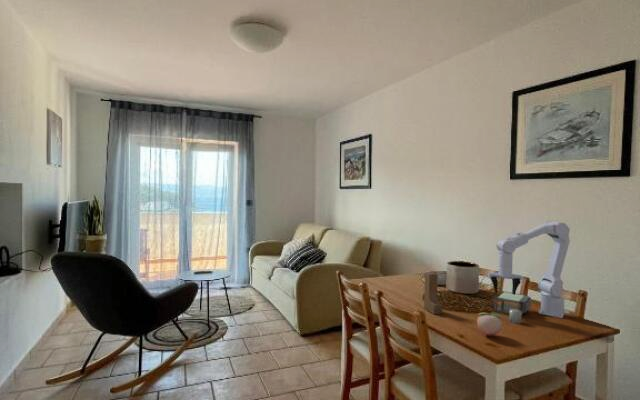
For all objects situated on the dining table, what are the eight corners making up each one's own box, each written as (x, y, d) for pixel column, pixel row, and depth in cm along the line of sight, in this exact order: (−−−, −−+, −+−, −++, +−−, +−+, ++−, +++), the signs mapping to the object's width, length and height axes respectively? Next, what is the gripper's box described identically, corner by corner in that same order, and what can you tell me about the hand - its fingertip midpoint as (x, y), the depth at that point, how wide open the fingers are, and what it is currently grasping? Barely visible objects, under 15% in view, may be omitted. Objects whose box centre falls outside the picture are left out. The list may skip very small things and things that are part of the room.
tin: (450, 284, 220) (451, 271, 220) (452, 286, 217) (452, 272, 217) (426, 283, 222) (426, 270, 221) (427, 285, 218) (427, 271, 218)
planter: (458, 295, 196) (459, 267, 196) (440, 287, 213) (440, 261, 213) (485, 293, 201) (486, 266, 201) (465, 285, 218) (465, 260, 218)
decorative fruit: (480, 339, 138) (480, 314, 138) (474, 331, 146) (475, 307, 146) (505, 341, 137) (506, 315, 136) (499, 333, 145) (499, 309, 144)
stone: (522, 321, 158) (522, 310, 158) (520, 324, 154) (520, 313, 154) (510, 318, 161) (510, 308, 161) (507, 321, 158) (508, 310, 157)
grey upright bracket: (442, 314, 166) (443, 276, 166) (434, 314, 165) (434, 276, 165) (432, 307, 175) (432, 271, 175) (423, 308, 174) (424, 272, 174)
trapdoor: (530, 306, 172) (531, 296, 172) (525, 312, 163) (526, 302, 163) (503, 300, 180) (504, 292, 180) (497, 306, 171) (497, 297, 171)
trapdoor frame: (527, 309, 174) (527, 295, 174) (520, 317, 163) (521, 302, 163) (501, 304, 182) (502, 291, 182) (494, 311, 171) (494, 297, 170)
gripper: (519, 264, 169) (519, 292, 170) (487, 262, 173) (486, 290, 174) (524, 267, 163) (523, 296, 163) (490, 265, 166) (489, 294, 167)
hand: (504, 293), depth 168 cm, fingers open, 7 cm apart
